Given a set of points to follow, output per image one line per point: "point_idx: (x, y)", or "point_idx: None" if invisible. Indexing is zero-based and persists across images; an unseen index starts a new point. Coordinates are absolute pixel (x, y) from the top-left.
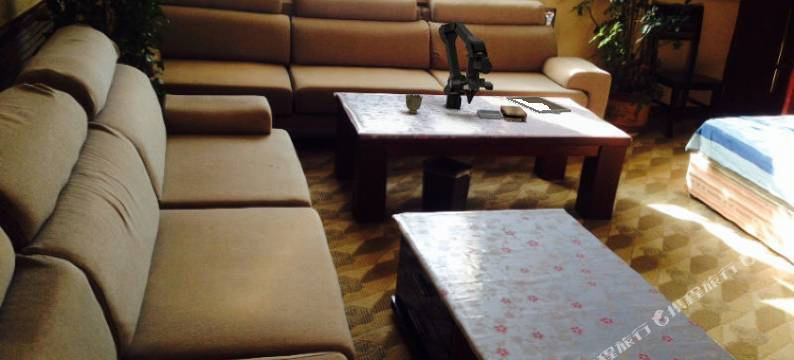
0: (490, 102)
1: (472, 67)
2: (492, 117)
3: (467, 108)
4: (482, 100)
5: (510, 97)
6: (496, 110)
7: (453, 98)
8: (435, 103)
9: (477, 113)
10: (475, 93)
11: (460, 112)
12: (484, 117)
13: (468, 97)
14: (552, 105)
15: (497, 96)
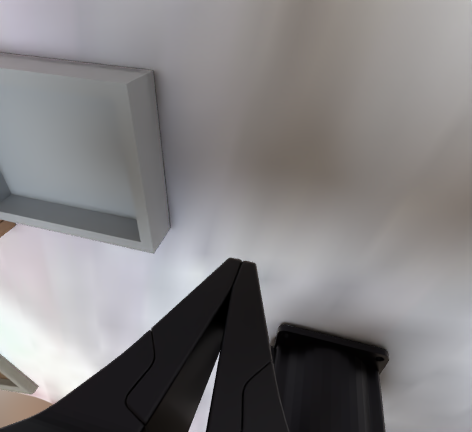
0: (91, 374)
1: None
2: (20, 59)
3: None
4: None
5: (17, 389)
6: (3, 217)
7: (340, 429)
8: (405, 425)
9: (167, 222)
10: (54, 409)
11: (309, 265)
12: (105, 69)
13: (249, 349)
14: None
15: None
